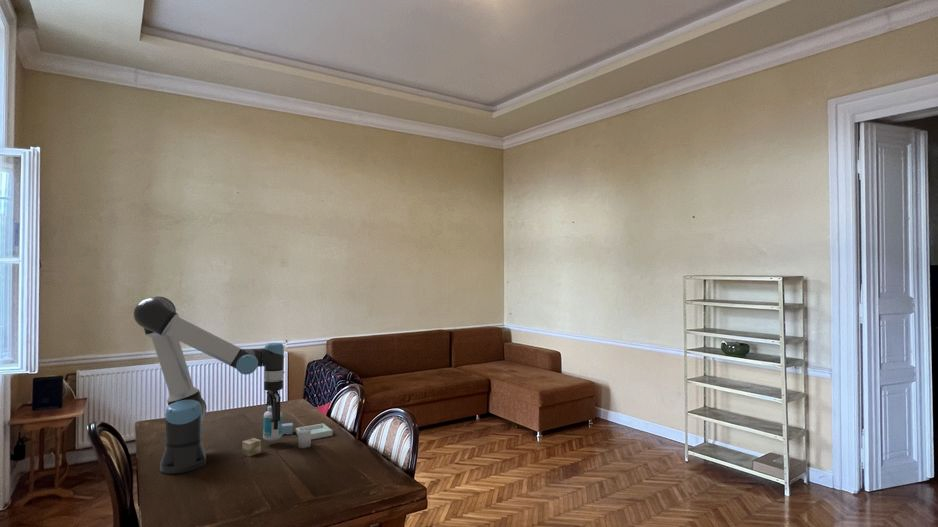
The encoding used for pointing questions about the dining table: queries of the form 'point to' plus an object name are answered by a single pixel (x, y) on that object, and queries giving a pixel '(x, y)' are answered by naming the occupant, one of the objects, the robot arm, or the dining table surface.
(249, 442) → the oak cube
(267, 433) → the pill bottle
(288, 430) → the blue block
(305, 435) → the grey cylinder
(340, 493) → the dining table surface
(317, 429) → the tray
